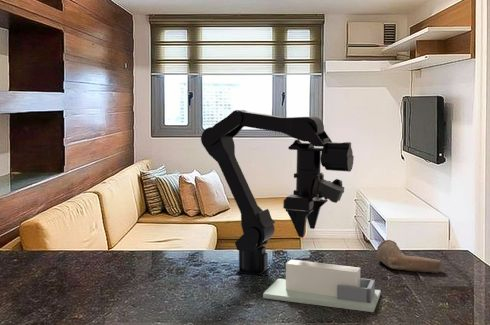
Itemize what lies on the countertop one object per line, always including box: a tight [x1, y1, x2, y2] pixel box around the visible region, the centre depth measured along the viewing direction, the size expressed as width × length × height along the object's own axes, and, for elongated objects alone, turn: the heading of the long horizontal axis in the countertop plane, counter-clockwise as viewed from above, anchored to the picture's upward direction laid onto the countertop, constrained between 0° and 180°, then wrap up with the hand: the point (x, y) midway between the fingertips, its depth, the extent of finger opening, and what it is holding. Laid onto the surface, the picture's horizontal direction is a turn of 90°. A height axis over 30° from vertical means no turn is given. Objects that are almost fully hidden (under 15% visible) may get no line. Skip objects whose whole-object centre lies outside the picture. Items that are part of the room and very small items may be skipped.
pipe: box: [375, 239, 443, 274], centre depth 140 cm, size 6×17×10 cm
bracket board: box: [262, 277, 381, 313], centre depth 119 cm, size 24×11×4 cm, turn 69°
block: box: [285, 259, 361, 297], centre depth 118 cm, size 16×4×6 cm, turn 65°
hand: (306, 232), depth 130 cm, fingers open, 9 cm apart
